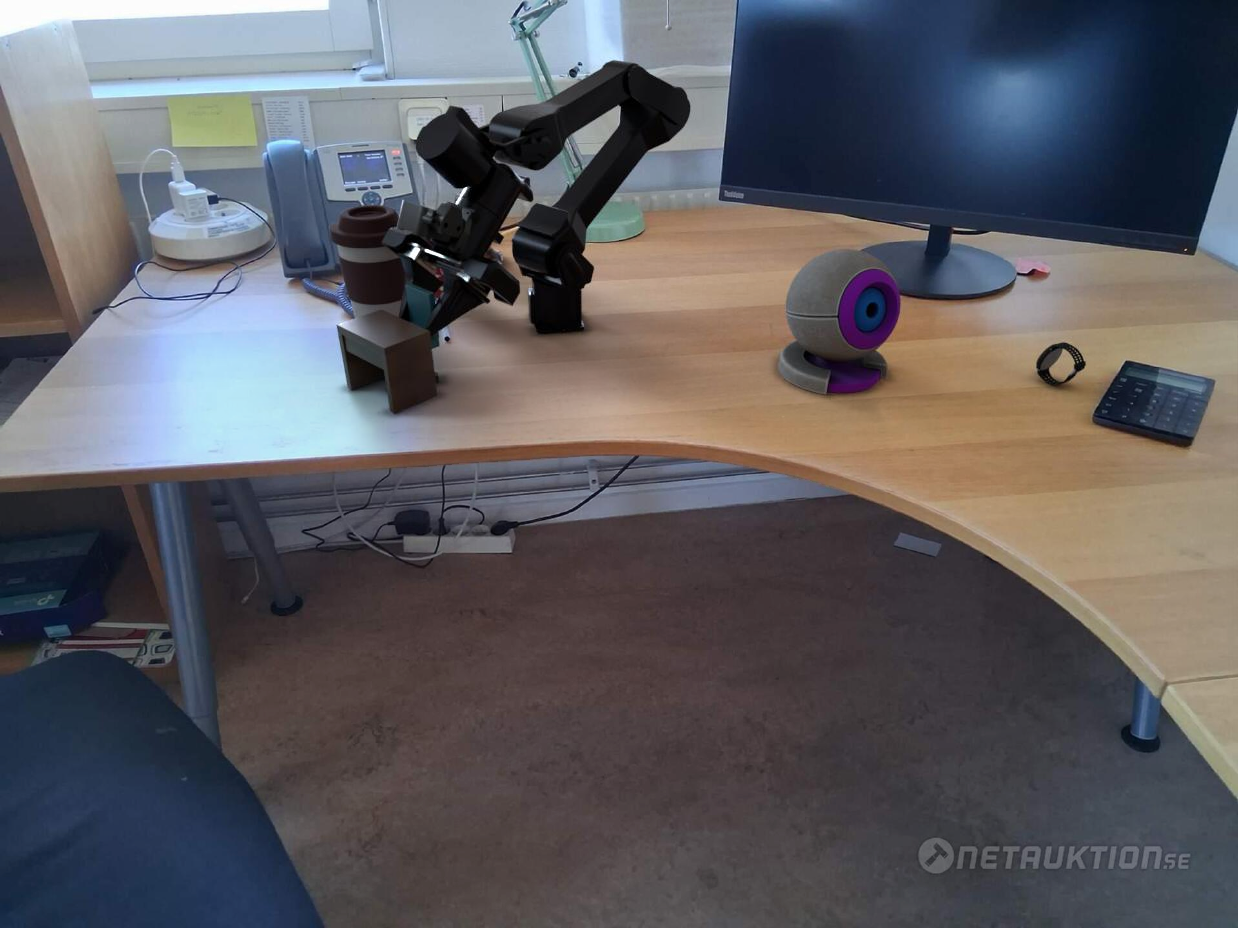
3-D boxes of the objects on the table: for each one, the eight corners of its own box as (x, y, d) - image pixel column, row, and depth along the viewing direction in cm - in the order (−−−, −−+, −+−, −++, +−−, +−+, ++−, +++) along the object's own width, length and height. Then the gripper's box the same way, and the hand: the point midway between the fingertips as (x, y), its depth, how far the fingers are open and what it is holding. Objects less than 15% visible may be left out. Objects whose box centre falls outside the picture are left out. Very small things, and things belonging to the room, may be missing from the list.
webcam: (821, 404, 97) (842, 279, 89) (756, 360, 107) (769, 243, 99) (907, 381, 102) (934, 260, 94) (838, 341, 112) (856, 228, 104)
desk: (390, 371, 103) (381, 309, 99) (437, 395, 98) (430, 331, 94) (347, 388, 99) (336, 324, 95) (394, 414, 94) (384, 348, 90)
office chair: (418, 368, 104) (407, 281, 98) (447, 382, 101) (438, 294, 95) (381, 383, 100) (367, 294, 94) (410, 398, 97) (397, 308, 91)
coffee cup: (403, 341, 110) (388, 226, 102) (332, 334, 112) (311, 220, 104) (432, 312, 118) (420, 203, 110) (366, 305, 120) (349, 198, 112)
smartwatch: (1055, 373, 105) (1067, 336, 102) (1080, 393, 101) (1094, 354, 98) (1024, 375, 104) (1035, 338, 102) (1049, 395, 100) (1061, 356, 97)
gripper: (384, 156, 97) (315, 274, 96) (493, 186, 87) (418, 319, 86) (445, 210, 106) (383, 318, 105) (551, 244, 96) (483, 364, 95)
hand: (413, 328), depth 98 cm, fingers closed on office chair, 4 cm apart
